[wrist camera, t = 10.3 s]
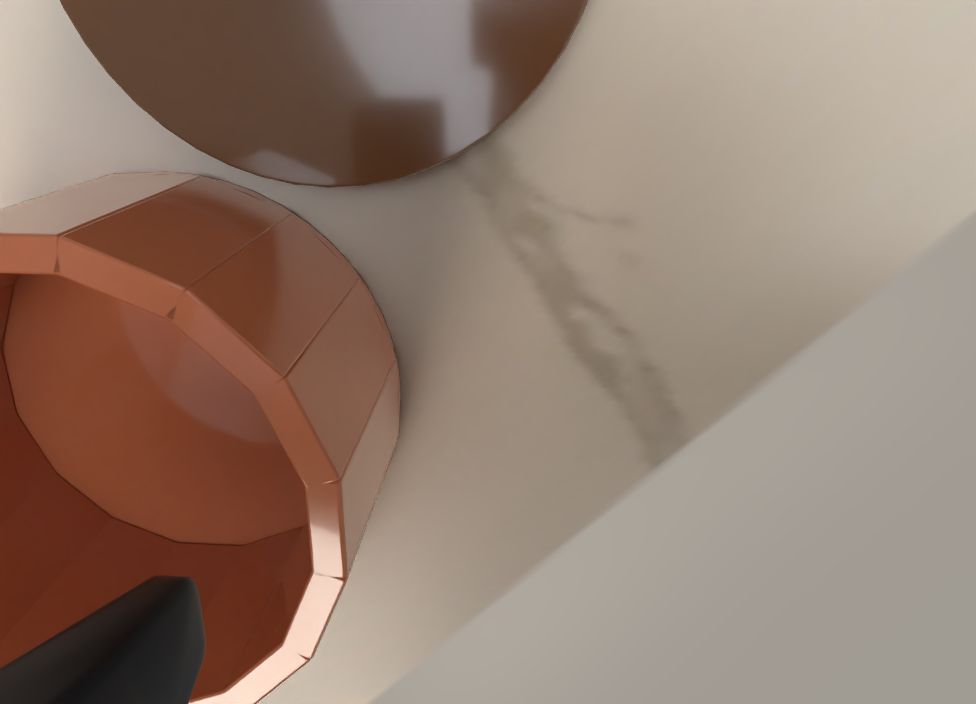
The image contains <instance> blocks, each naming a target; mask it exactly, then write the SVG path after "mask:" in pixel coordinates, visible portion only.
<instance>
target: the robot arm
mask: <svg viewBox="0 0 976 704" xmlns="http://www.w3.org/2000/svg"><path fill="white" fill-rule="evenodd" d="M205 648H206V637H205V630H204V623H203V617H202V610H201V604H200V597H199V591H198V587H197V584H196V582H195V581H194V580H193V579H192V578H190V577H185V576H166V575H158V576H154V577H151V578H150V579H148V580H146V581H144V582H143V583H141V584H139V585H138V586H136V587H134V588H133V589H131V590H129V591H128V592H126V593H124V594H123V595H121V596H119V597H118V598H116V599H114V600H113V601H111V602H109V603H108V604H106V605H105V606H103V607H101V608H100V609H98V610H96V611H95V612H93V613H91V614H90V615H88V616H86V617H85V618H83V619H81V620H80V621H78V622H76V623H75V624H73V625H71V626H70V627H68V628H66V629H65V630H63V631H61V632H60V633H58V634H56V635H55V636H53V637H51V638H50V639H48V640H47V641H45V642H43V643H42V644H40V645H38V646H37V647H35V648H33V649H32V650H30V651H28V652H27V653H25V654H23V655H22V656H20V657H18V658H17V659H15V660H13V661H12V662H10V663H8V664H7V665H5V666H3V667H2V668H0V704H188V703H189V700H190V697H191V695H192V692H193V689H194V686H195V683H196V680H197V677H198V674H199V672H200V669H201V666H202V663H203V659H204V655H205Z"/></svg>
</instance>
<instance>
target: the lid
mask: <svg viewBox="0 0 976 704" xmlns="http://www.w3.org/2000/svg"><path fill="white" fill-rule="evenodd" d="M587 1H588V0H60V2H61V4H62V6H63V8H64V10H65V11H66V13H67V15H68V16H69V18H70V20H71V21H72V23H73V25H74V26H75V28H76V30H77V31H78V33H79V34H80V36H81V38H82V39H83V41H84V43H85V44H86V45H87V47H88V48H89V49H90V51H91V52H92V53H93V55H94V56H95V57H96V58H97V60H98V61H99V62H100V64H101V65H102V66H103V68H104V69H105V70H106V72H107V73H108V74H109V75H110V76H111V77H112V79H113V80H114V81H115V82H116V83H117V84H118V85H119V86H120V87H121V88H122V89H123V90H124V91H125V92H126V93H127V94H128V95H129V96H130V97H131V98H132V100H133V101H134V102H135V103H136V104H137V105H139V106H140V107H141V108H142V109H143V110H145V111H146V112H147V113H148V114H149V115H150V116H152V117H153V118H154V119H155V120H156V121H158V122H159V123H160V124H161V125H162V126H164V127H165V128H166V129H167V130H169V131H170V132H172V133H174V134H175V135H177V136H178V137H180V138H181V139H183V140H184V141H186V142H187V143H189V144H190V145H192V146H193V147H195V148H196V149H198V150H200V151H202V152H204V153H206V154H208V155H210V156H212V157H214V158H216V159H218V160H220V161H222V162H224V163H226V164H228V165H230V166H233V167H236V168H238V169H241V170H244V171H247V172H250V173H252V174H255V175H258V176H261V177H264V178H269V179H273V180H278V181H282V182H287V183H291V184H296V185H307V186H319V187H352V186H366V185H372V184H377V183H383V182H388V181H394V180H398V179H401V178H404V177H407V176H411V175H414V174H417V173H420V172H423V171H426V170H429V169H431V168H433V167H435V166H437V165H439V164H441V163H443V162H446V161H448V160H450V159H452V158H454V157H456V156H458V155H460V154H462V153H463V152H465V151H466V150H468V149H469V148H471V147H472V146H474V145H475V144H477V143H478V142H480V141H481V140H483V139H484V138H486V137H487V136H489V135H490V134H491V133H492V132H494V131H495V130H496V129H497V128H498V127H499V126H500V125H502V124H503V123H504V122H505V121H506V120H507V119H508V118H510V117H511V116H512V115H513V114H514V113H515V112H516V111H518V109H519V108H520V107H521V106H522V105H523V104H524V103H525V101H526V100H527V99H528V98H529V97H530V96H531V95H532V93H533V92H534V91H535V90H536V89H537V88H538V87H539V86H540V84H541V83H542V82H543V81H544V79H545V78H546V76H547V75H548V73H549V72H550V70H551V69H552V67H553V66H554V64H555V63H556V61H557V60H558V58H559V57H560V55H561V54H562V53H563V51H564V50H565V48H566V46H567V44H568V42H569V40H570V38H571V36H572V34H573V32H574V30H575V28H576V26H577V24H578V22H579V20H580V18H581V16H582V14H583V12H584V9H585V6H586V4H587Z"/></svg>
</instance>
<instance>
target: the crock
mask: <svg viewBox="0 0 976 704" xmlns="http://www.w3.org/2000/svg"><path fill="white" fill-rule="evenodd" d="M400 396H401V388H400V378H399V369H398V362H397V358H396V354H395V350H394V346H393V342H392V338H391V336H390V333H389V331H388V328H387V326H386V323H385V321H384V318H383V315H382V313H381V311H380V309H379V307H378V306H377V304H376V302H375V300H374V298H373V297H372V295H371V293H370V291H369V289H368V288H367V286H366V285H365V283H364V282H363V281H362V279H361V278H360V277H359V275H358V274H357V272H356V271H355V270H354V268H353V267H352V265H351V264H350V263H349V262H348V261H347V260H346V259H345V258H344V257H343V255H342V254H341V253H340V252H339V251H338V250H337V249H336V248H335V247H334V246H333V245H332V244H331V243H330V242H329V241H328V240H327V239H326V238H325V237H323V236H322V235H321V234H320V233H319V232H318V231H316V230H315V229H314V228H313V227H312V226H311V225H309V224H308V223H307V222H306V221H304V220H303V219H301V218H300V217H298V216H297V215H295V214H294V213H292V212H290V211H289V210H287V209H286V208H284V207H283V206H281V205H280V204H278V203H276V202H274V201H272V200H270V199H268V198H266V197H264V196H262V195H260V194H258V193H256V192H254V191H251V190H248V189H246V188H243V187H240V186H237V185H234V184H232V183H229V182H226V181H223V180H218V179H214V178H209V177H205V176H200V175H196V174H186V173H175V172H146V173H133V174H111V175H106V176H103V177H100V178H97V179H94V180H90V181H87V182H84V183H81V184H78V185H75V186H72V187H69V188H65V189H62V190H59V191H56V192H53V193H50V194H47V195H44V196H40V197H37V198H34V199H31V200H28V201H25V202H22V203H19V204H15V205H12V206H9V207H6V208H3V209H0V668H2V667H3V666H5V665H7V664H8V663H10V662H12V661H13V660H15V659H17V658H18V657H20V656H22V655H23V654H25V653H27V652H28V651H30V650H32V649H33V648H35V647H37V646H38V645H40V644H42V643H43V642H45V641H47V640H48V639H50V638H51V637H53V636H55V635H56V634H58V633H60V632H61V631H63V630H65V629H66V628H68V627H70V626H71V625H73V624H75V623H76V622H78V621H80V620H81V619H83V618H85V617H86V616H88V615H90V614H91V613H93V612H95V611H96V610H98V609H100V608H101V607H103V606H105V605H106V604H108V603H109V602H111V601H113V600H114V599H116V598H118V597H119V596H121V595H123V594H124V593H126V592H128V591H129V590H131V589H133V588H134V587H136V586H138V585H139V584H141V583H143V582H144V581H146V580H148V579H150V578H151V577H154V576H158V575H166V576H185V577H190V578H192V579H193V580H194V581H195V582H196V584H197V587H198V591H199V597H200V604H201V610H202V617H203V623H204V630H205V637H206V648H205V655H204V659H203V663H202V666H201V669H200V672H199V674H198V677H197V680H196V683H195V686H194V689H193V692H192V695H191V697H190V700H189V703H188V704H256V703H257V702H258V701H260V700H261V699H262V698H263V697H265V696H266V695H267V694H268V693H270V692H271V691H272V690H273V689H275V688H276V687H277V686H279V685H280V684H281V683H282V682H284V681H285V680H286V679H287V678H289V677H290V676H291V675H292V674H294V673H295V672H296V671H297V670H299V669H300V668H301V667H302V666H304V665H305V664H306V663H307V662H309V661H310V659H311V658H312V657H313V656H314V654H315V652H316V649H317V647H318V645H319V643H320V640H321V638H322V636H323V634H324V631H325V629H326V627H327V625H328V622H329V620H330V618H331V616H332V613H333V611H334V609H335V606H336V604H337V602H338V600H339V597H340V595H341V593H342V591H343V588H344V586H345V584H346V582H347V579H348V576H349V573H350V571H351V568H352V565H353V562H354V560H355V557H356V554H357V551H358V548H359V546H360V543H361V540H362V537H363V535H364V532H365V529H366V526H367V523H368V521H369V518H370V515H371V512H372V509H373V507H374V504H375V501H376V498H377V496H378V493H379V490H380V487H381V484H382V482H383V479H384V476H385V473H386V471H387V468H388V465H389V462H390V459H391V457H392V454H393V451H394V448H395V445H396V443H397V440H398V437H399V435H398V434H399V417H400Z"/></svg>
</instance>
